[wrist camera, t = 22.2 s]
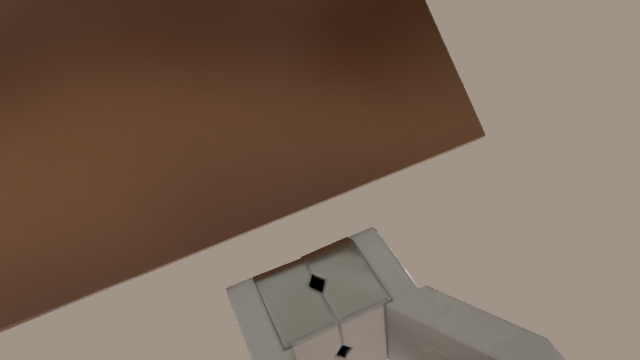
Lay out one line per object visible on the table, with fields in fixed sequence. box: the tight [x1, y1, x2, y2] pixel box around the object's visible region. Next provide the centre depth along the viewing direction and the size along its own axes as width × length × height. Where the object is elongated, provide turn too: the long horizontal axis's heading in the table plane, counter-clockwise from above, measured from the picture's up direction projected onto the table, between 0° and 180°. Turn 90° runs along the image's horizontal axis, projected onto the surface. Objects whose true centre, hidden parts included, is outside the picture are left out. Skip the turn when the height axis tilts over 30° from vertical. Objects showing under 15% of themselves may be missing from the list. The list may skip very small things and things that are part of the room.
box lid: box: [0, 0, 485, 332], centre depth 17 cm, size 13×17×1 cm
